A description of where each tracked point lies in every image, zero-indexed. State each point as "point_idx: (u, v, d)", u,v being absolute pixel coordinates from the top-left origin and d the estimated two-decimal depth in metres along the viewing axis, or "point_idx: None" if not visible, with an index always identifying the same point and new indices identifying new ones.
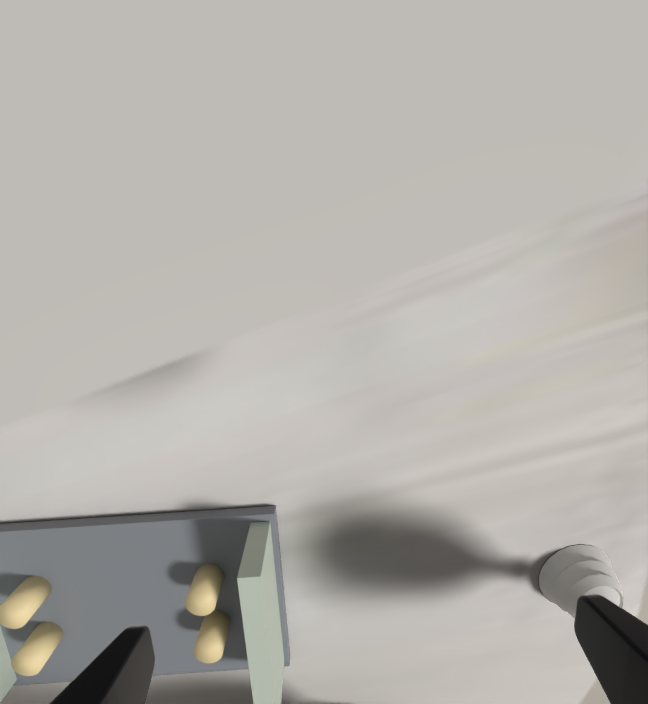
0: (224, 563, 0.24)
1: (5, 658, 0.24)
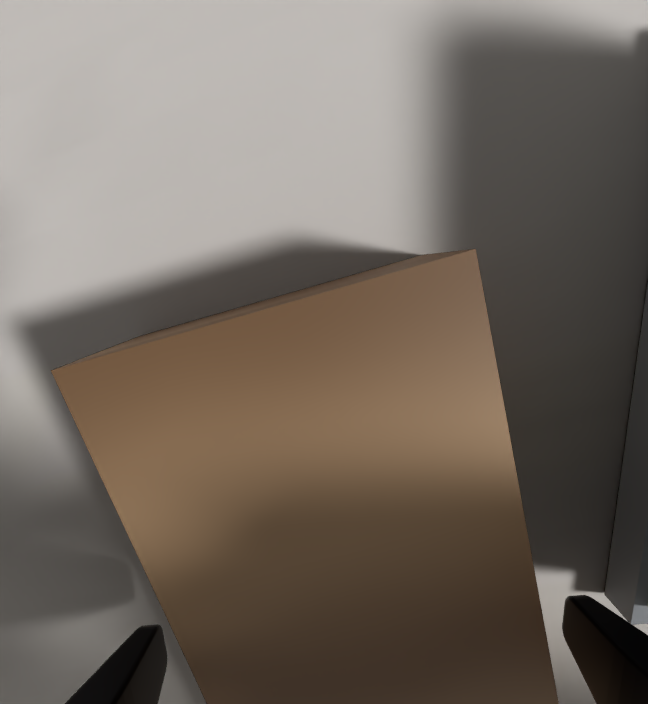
0: None
1: None
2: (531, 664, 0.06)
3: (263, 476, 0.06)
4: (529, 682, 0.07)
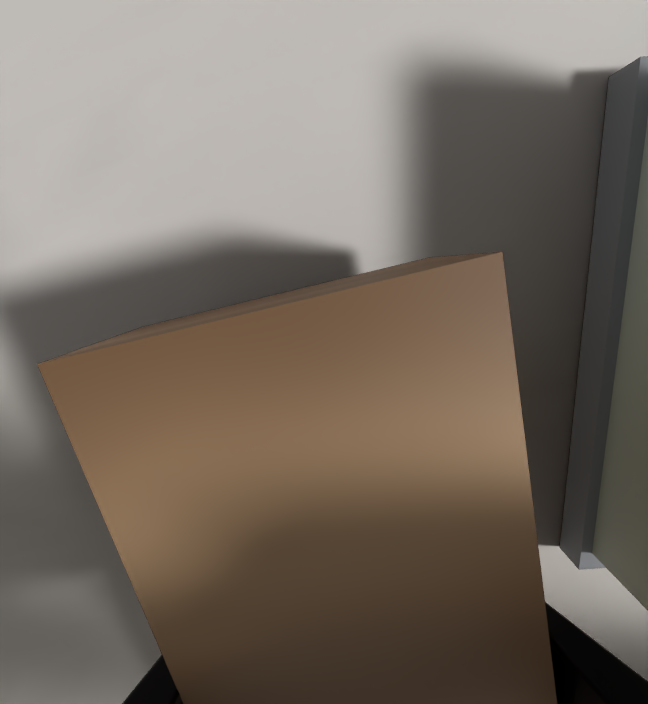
0: None
1: None
2: (535, 689, 0.06)
3: (263, 485, 0.05)
4: None
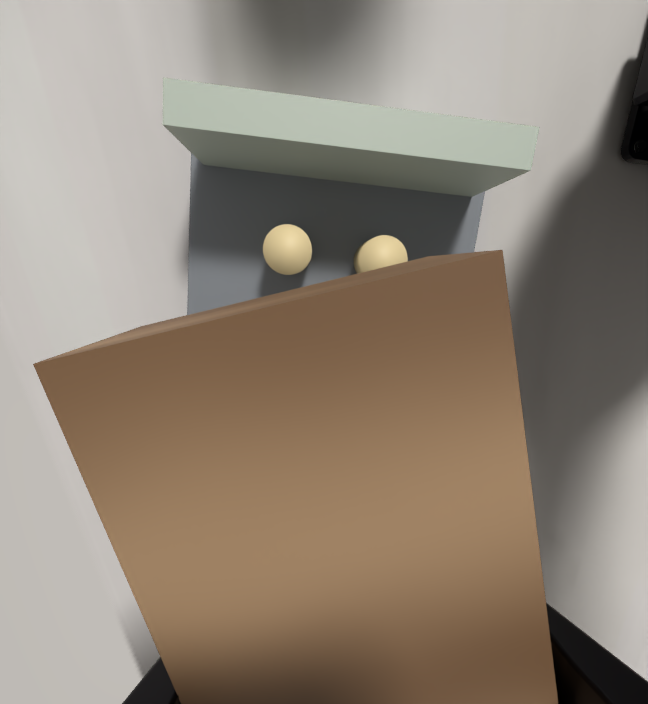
0: (271, 224, 0.15)
1: None
2: (536, 691, 0.06)
3: (261, 485, 0.05)
4: None
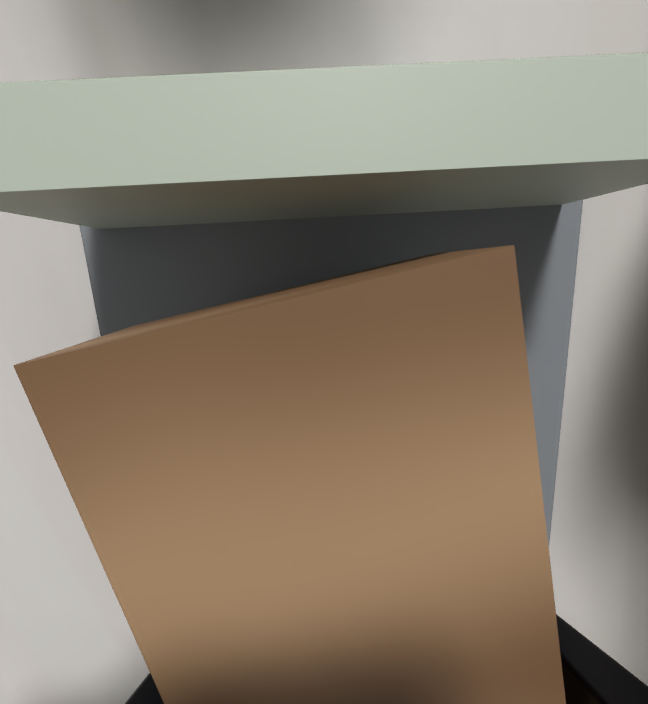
0: None
1: None
2: None
3: (258, 494, 0.05)
4: None
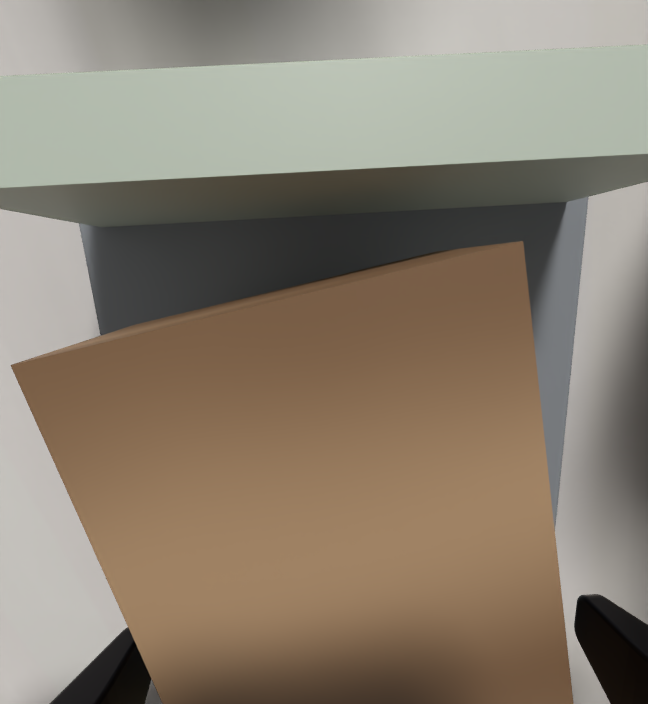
0: None
1: None
2: None
3: (260, 496, 0.05)
4: None
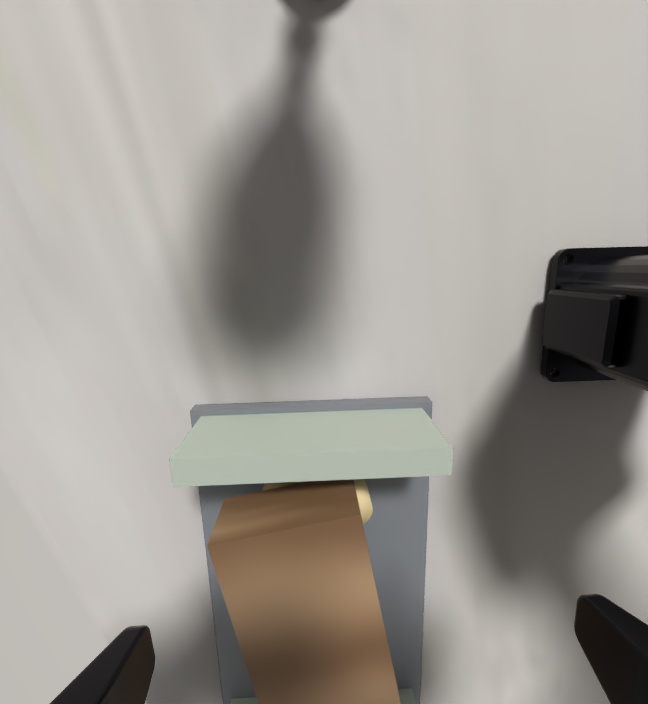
0: None
1: None
2: (383, 660, 0.16)
3: (280, 584, 0.15)
4: (382, 667, 0.16)
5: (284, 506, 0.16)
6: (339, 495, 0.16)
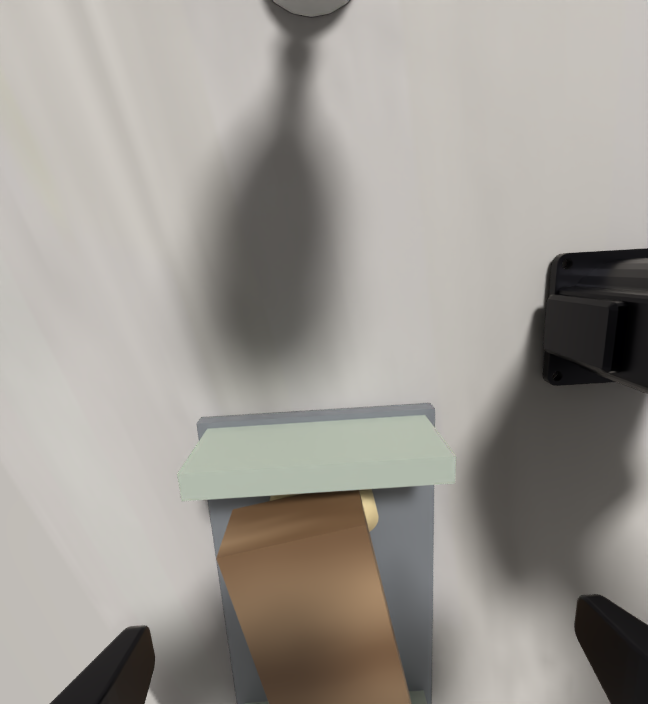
0: None
1: None
2: (392, 666, 0.16)
3: (289, 593, 0.15)
4: (392, 673, 0.16)
5: (291, 517, 0.16)
6: (344, 505, 0.16)
